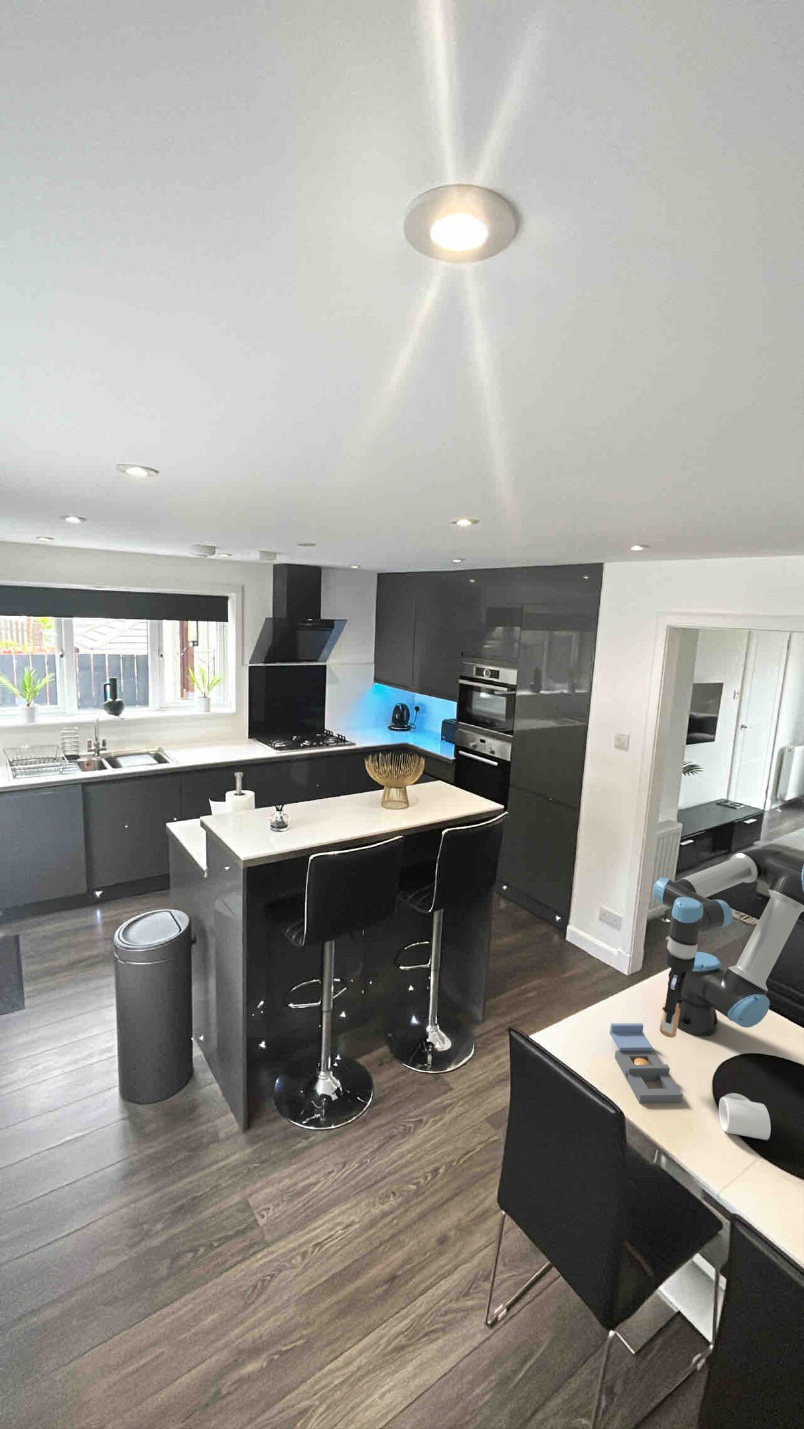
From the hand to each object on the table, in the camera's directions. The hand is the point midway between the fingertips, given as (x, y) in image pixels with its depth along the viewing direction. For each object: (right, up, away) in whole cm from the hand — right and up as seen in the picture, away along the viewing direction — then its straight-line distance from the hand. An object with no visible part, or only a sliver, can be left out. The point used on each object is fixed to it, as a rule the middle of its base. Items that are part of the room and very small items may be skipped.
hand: (669, 1026), depth 178 cm
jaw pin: (0, -2, 0) cm, 2 cm away
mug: (+13, -19, -14) cm, 27 cm away
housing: (-6, -15, +1) cm, 17 cm away
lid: (-7, -10, +12) cm, 17 cm away
